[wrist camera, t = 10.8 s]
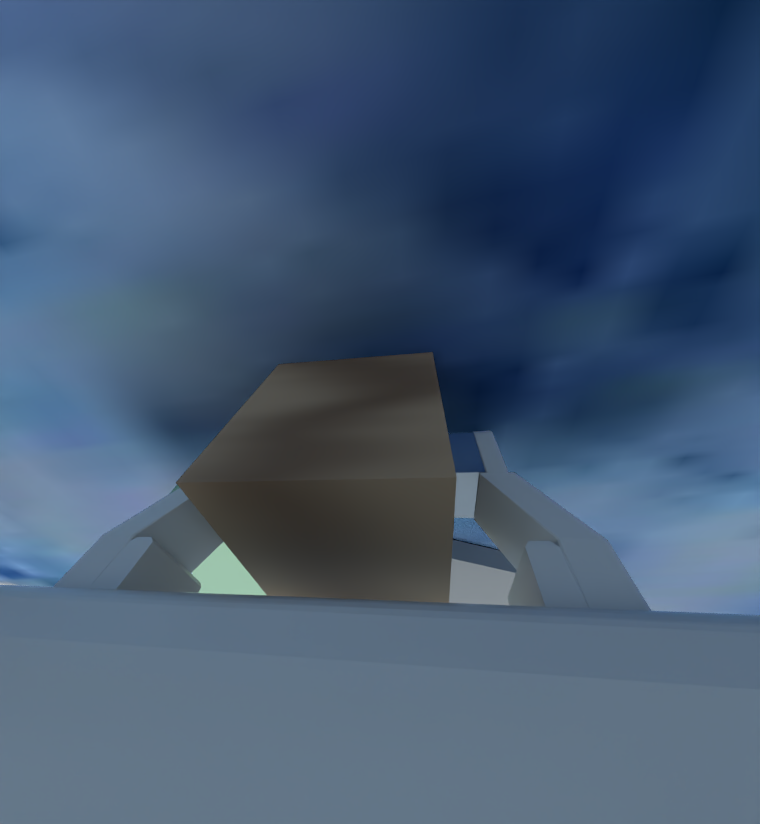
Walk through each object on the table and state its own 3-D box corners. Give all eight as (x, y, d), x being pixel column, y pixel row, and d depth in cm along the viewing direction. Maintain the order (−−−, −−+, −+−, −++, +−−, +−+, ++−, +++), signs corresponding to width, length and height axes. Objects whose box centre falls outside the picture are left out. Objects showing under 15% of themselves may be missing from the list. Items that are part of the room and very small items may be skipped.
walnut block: (432, 351, 8) (456, 477, 4) (433, 466, 11) (448, 606, 7) (279, 363, 9) (175, 483, 5) (316, 468, 12) (269, 599, 8)
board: (600, 574, 15) (611, 594, 14) (496, 635, 21) (500, 652, 20) (184, 476, 13) (169, 494, 12) (206, 576, 19) (198, 592, 18)
